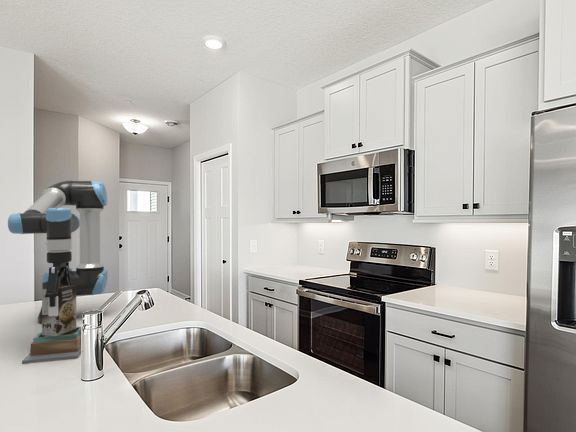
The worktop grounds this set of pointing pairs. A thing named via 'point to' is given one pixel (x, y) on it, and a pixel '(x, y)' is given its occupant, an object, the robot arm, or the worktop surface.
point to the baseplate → (51, 357)
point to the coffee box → (60, 312)
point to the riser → (56, 343)
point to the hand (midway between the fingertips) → (59, 310)
